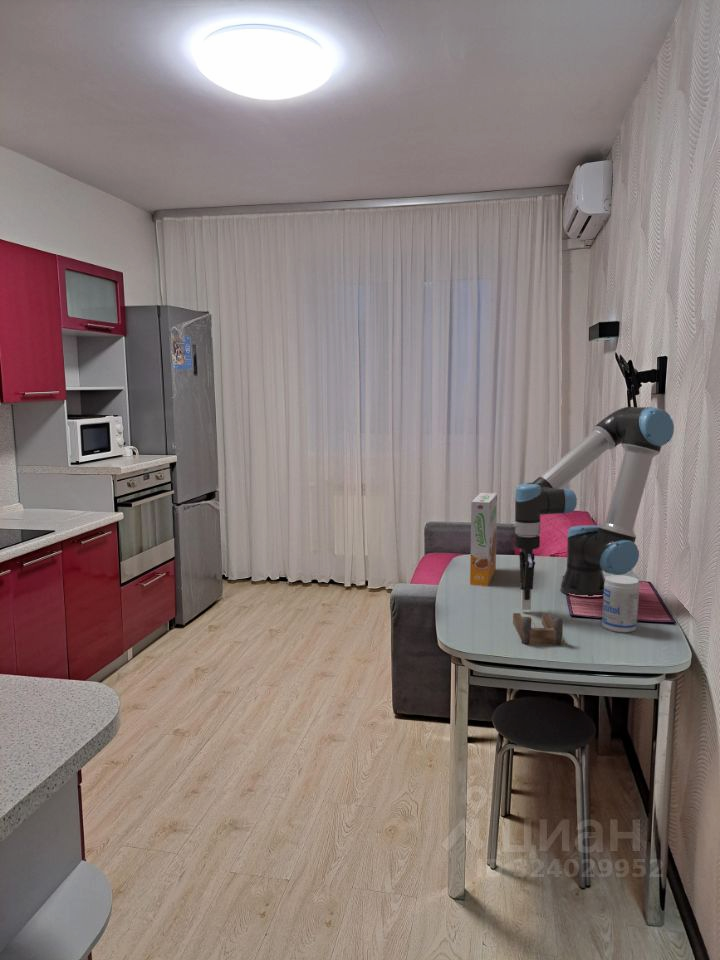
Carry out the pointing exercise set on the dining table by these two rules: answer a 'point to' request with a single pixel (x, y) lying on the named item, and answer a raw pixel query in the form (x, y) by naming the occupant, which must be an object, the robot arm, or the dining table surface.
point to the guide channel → (539, 630)
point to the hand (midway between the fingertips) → (525, 608)
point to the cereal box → (483, 538)
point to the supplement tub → (620, 603)
